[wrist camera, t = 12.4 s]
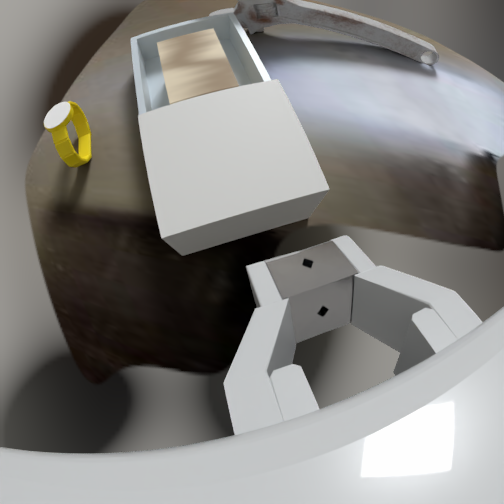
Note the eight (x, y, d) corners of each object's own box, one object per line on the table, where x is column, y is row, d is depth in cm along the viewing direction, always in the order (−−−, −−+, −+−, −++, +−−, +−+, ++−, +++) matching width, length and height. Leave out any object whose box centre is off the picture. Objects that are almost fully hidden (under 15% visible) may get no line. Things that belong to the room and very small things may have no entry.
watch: (75, 132, 24) (48, 97, 18) (98, 122, 24) (73, 84, 18) (73, 180, 23) (38, 147, 17) (98, 169, 23) (67, 132, 17)
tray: (233, 38, 26) (233, 12, 22) (273, 122, 24) (278, 93, 20) (140, 62, 25) (130, 38, 21) (155, 154, 23) (141, 129, 19)
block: (239, 123, 23) (216, 65, 24) (238, 85, 18) (213, 28, 20) (181, 139, 23) (167, 78, 24) (169, 103, 18) (156, 42, 19)
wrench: (422, 78, 30) (197, 33, 26) (418, 70, 30) (199, 25, 26) (453, 45, 22) (199, -22, 18) (447, 37, 22) (201, -29, 18)
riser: (270, 124, 24) (277, 79, 18) (308, 218, 23) (329, 189, 17) (158, 155, 23) (137, 115, 17) (182, 256, 22) (161, 238, 16)
